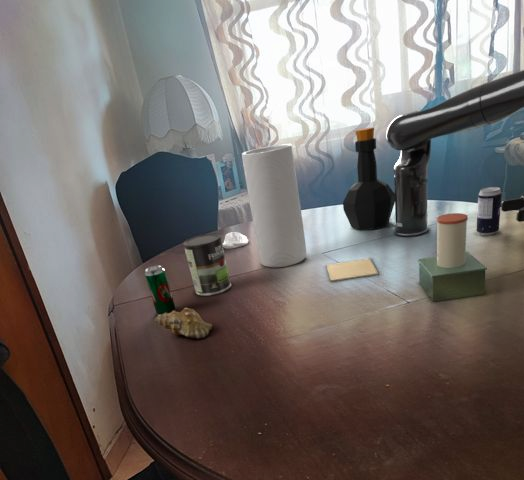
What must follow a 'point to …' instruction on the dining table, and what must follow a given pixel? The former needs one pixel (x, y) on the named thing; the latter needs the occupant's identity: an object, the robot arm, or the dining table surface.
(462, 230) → the canister
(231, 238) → the white lumpy mound
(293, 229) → the vase
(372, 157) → the bottle
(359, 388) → the dining table surface
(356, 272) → the mat
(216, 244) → the coffee can
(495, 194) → the beverage can
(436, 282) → the tin
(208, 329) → the seashell
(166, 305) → the soda can
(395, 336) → the dining table surface
